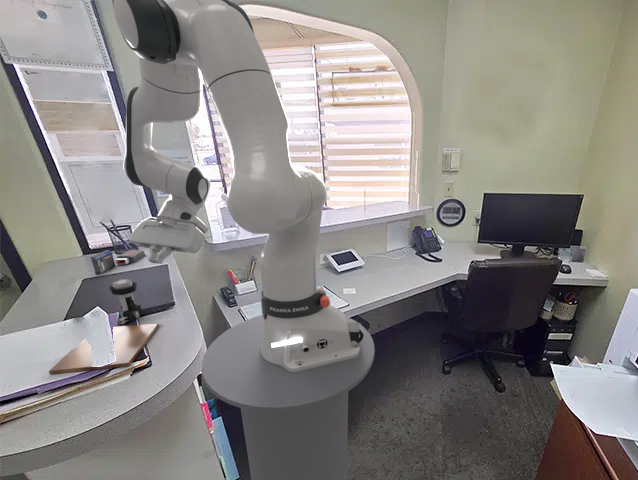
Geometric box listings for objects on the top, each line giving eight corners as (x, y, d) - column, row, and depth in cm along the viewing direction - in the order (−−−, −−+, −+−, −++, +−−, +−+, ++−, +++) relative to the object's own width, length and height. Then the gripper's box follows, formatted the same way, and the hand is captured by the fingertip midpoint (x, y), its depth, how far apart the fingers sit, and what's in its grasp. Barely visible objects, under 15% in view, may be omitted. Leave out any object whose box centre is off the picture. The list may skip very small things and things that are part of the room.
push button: (133, 325, 76) (123, 288, 72) (110, 325, 75) (98, 288, 72) (149, 312, 82) (140, 277, 78) (127, 313, 81) (117, 277, 78)
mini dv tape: (100, 273, 105) (95, 257, 103) (95, 274, 105) (90, 257, 102) (115, 265, 112) (111, 250, 110) (110, 266, 112) (106, 250, 110)
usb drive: (145, 255, 125) (143, 248, 124) (129, 264, 114) (127, 257, 113) (130, 255, 124) (128, 248, 123) (113, 265, 113) (111, 257, 112)
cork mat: (159, 326, 76) (158, 323, 76) (129, 366, 62) (128, 362, 62) (96, 331, 73) (95, 328, 73) (49, 374, 59) (48, 371, 58)
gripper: (137, 210, 88) (112, 252, 82) (200, 216, 84) (178, 261, 79) (154, 222, 93) (132, 263, 88) (213, 229, 90) (194, 271, 84)
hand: (154, 262), depth 83 cm, fingers closed
